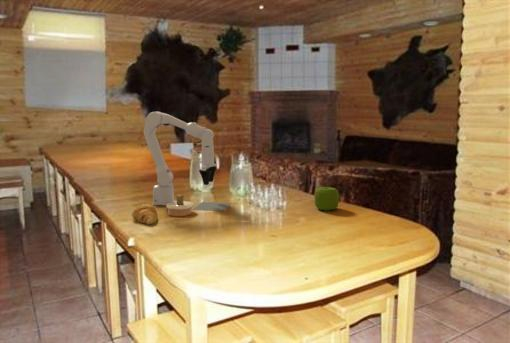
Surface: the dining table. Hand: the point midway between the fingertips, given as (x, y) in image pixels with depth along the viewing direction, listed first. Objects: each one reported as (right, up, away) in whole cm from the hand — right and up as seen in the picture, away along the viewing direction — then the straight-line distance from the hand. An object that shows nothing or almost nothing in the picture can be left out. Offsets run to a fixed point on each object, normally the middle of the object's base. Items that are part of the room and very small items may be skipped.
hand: (208, 183), depth 213 cm
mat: (+3, -11, -6) cm, 13 cm away
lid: (-10, -10, -18) cm, 23 cm away
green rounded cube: (+55, -12, -10) cm, 57 cm away
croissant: (-24, -15, -26) cm, 38 cm away
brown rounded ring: (-11, -13, -17) cm, 24 cm away
